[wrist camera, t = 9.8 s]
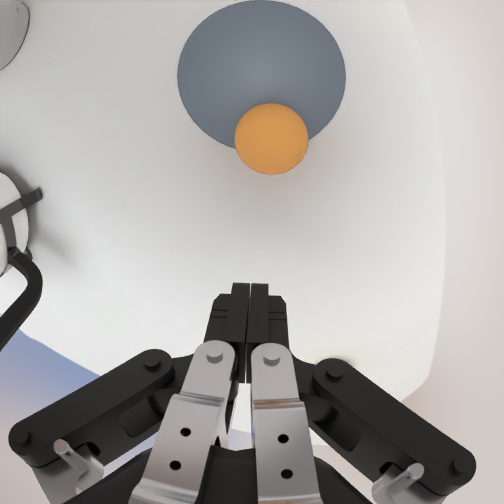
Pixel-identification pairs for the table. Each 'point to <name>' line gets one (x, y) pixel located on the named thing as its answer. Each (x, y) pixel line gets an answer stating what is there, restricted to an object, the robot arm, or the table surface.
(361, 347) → the table surface
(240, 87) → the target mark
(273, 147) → the ball
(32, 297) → the coffee press
